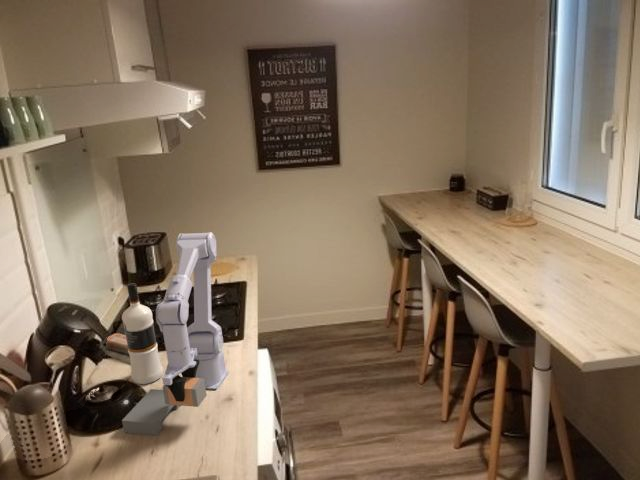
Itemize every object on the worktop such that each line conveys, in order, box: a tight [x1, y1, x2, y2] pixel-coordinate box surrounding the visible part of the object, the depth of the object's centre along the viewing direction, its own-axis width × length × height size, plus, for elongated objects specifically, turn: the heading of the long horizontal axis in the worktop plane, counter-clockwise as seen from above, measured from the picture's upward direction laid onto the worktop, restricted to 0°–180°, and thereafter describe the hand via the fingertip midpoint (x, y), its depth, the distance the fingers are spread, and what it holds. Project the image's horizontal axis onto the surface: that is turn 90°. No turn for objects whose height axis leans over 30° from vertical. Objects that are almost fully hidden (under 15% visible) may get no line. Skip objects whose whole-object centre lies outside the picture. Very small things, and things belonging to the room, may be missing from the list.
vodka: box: [121, 282, 164, 385], centre depth 153 cm, size 9×9×30 cm
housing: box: [162, 377, 207, 408], centre depth 133 cm, size 9×5×5 cm, turn 77°
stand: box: [121, 388, 181, 436], centre depth 137 cm, size 14×9×4 cm, turn 167°
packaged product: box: [106, 333, 131, 364], centre depth 173 cm, size 18×5×10 cm
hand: (185, 394), depth 133 cm, fingers closed on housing, 5 cm apart
